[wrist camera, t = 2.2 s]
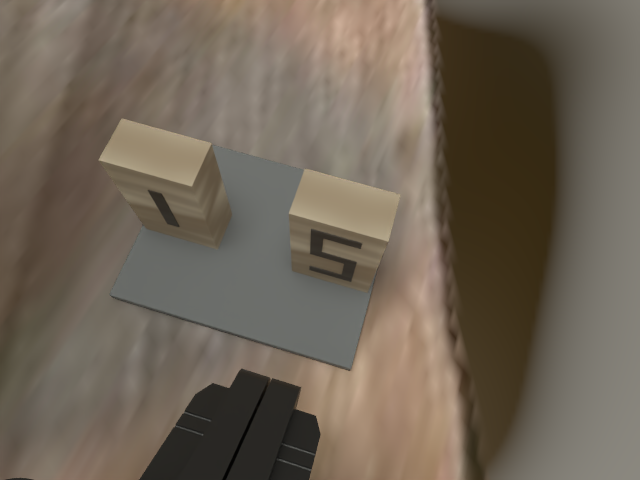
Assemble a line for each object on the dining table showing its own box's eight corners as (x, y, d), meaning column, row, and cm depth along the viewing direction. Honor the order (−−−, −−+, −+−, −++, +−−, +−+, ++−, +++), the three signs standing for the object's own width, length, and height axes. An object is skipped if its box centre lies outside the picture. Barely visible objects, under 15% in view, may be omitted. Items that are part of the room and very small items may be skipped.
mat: (113, 297, 28) (109, 294, 28) (187, 142, 33) (185, 137, 32) (349, 370, 27) (350, 368, 27) (395, 200, 31) (396, 195, 31)
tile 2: (366, 293, 28) (388, 242, 21) (291, 271, 29) (288, 214, 22) (377, 254, 29) (401, 193, 22) (304, 233, 30) (305, 167, 23)
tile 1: (217, 250, 29) (190, 187, 22) (145, 229, 29) (97, 161, 22) (232, 213, 30) (212, 142, 23) (163, 193, 30) (122, 117, 23)
